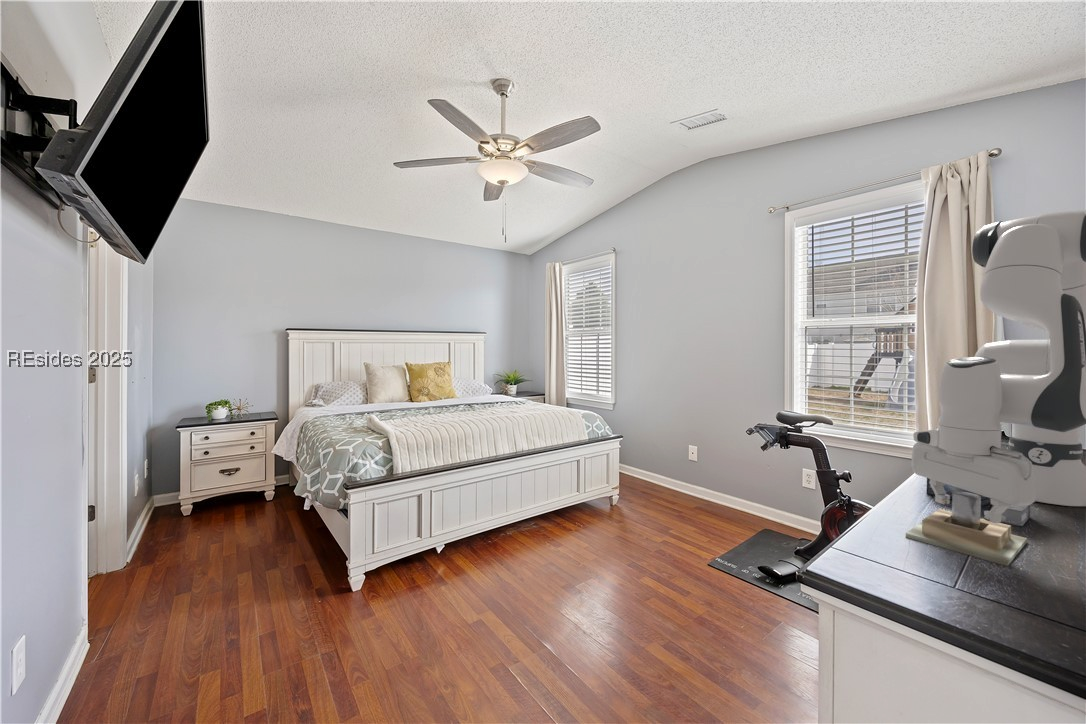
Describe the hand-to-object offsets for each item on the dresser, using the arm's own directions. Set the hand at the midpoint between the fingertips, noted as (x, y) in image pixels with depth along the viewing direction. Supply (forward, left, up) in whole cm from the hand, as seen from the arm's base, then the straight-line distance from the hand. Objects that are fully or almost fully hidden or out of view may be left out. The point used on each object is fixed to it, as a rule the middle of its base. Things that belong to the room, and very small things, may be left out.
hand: (966, 511), depth 85 cm
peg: (0, 0, -5) cm, 5 cm away
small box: (-29, -7, -6) cm, 30 cm away
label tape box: (-22, +3, -6) cm, 23 cm away
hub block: (0, 0, -5) cm, 5 cm away
